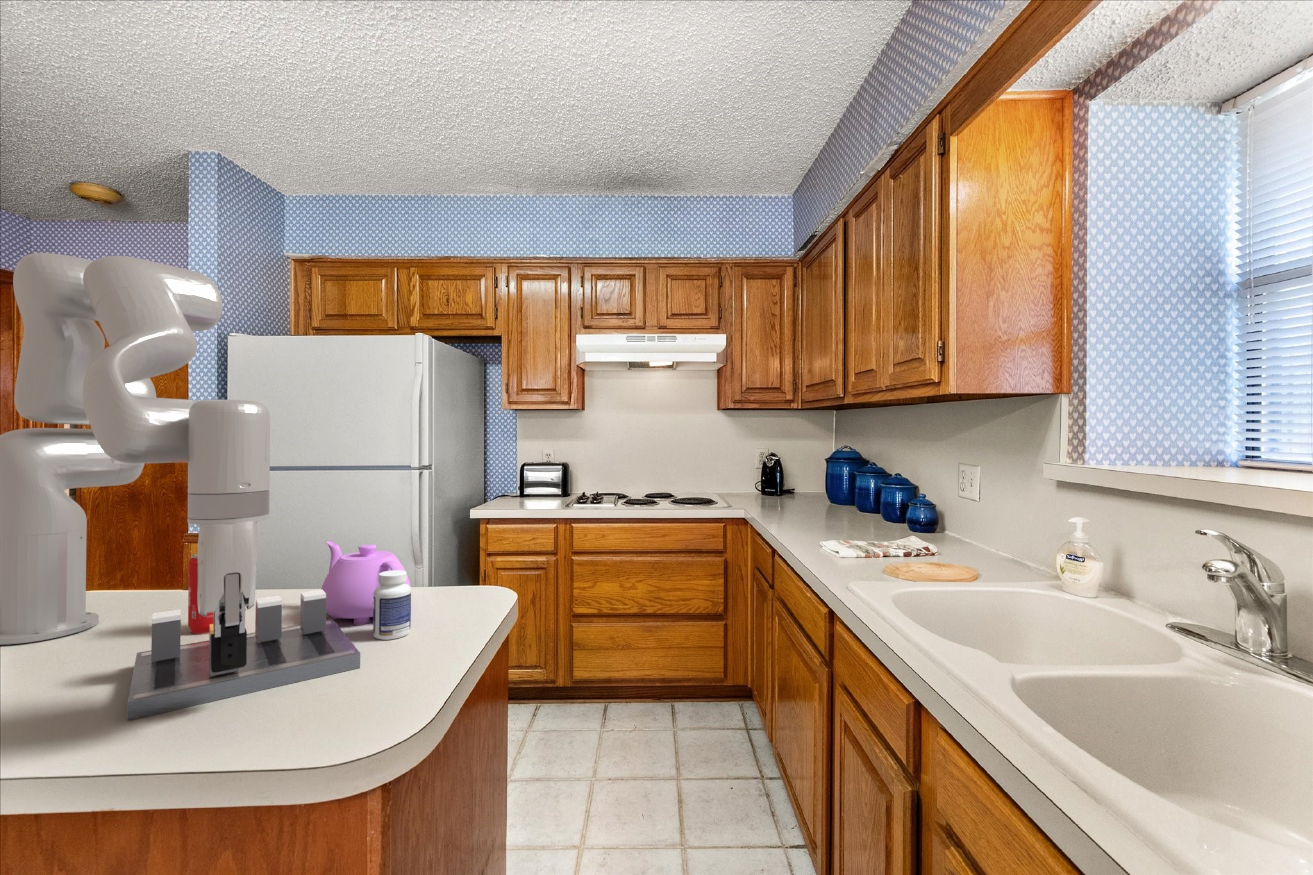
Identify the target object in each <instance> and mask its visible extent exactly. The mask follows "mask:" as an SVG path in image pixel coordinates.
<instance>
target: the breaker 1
mask: <svg viewBox="0 0 1313 875" xmlns="http://www.w3.org/2000/svg"><path fill="white" fill-rule="evenodd" d="M181 611H182V610H181V609H174V610H167V611H159V612H154V613H152V615H151V646H150V648H151V649H150V650H151V662H154V661H160V660H165V659H171V658H176V657H180V645H181V635H182V634H181V632H182V631H181V628H182V627H181V626H182V625H181V624H182V623H181V622H182V621H181V620H182V612H181Z"/></svg>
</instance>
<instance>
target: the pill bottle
mask: <svg viewBox="0 0 1313 875" xmlns="http://www.w3.org/2000/svg"><path fill="white" fill-rule="evenodd" d="M407 575H408V573H407V571H406V570H405V571H403V570H392V571H385V572H381V573H379V579H378V582H379V584H380V586H379V587H377V588H376V589H375V590H374V595H373V617H372V618H373V619H372V631H373V632H372V637H374V638H375V639H377V640H383V641H384V640H385V641H388V640H389V641H390V640H395V639H399V638H402V637H405V636H407V635H409V634H410V632H411V628H412V627H411V625H412V624H411V623H412V622H411V621H412V618H411V616H412V587H411V588H410V586H411V585H410V586H409V585H407V584H405V582H406V579H407Z"/></svg>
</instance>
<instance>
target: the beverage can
mask: <svg viewBox="0 0 1313 875" xmlns="http://www.w3.org/2000/svg"><path fill="white" fill-rule="evenodd" d="M197 587H198V553H195V554H192V555H191V556H190V560H189V561H188V599H187V600H188V601H187V602H188V604H187V609H188V610H187V613H188V614H187V626H188V628H189V630H190V632H191V634H195V635H206V634H209V628H210V624H213V612H208V613H207V616H202V615H200V614H199V611H198V603H197Z"/></svg>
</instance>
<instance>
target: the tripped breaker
mask: <svg viewBox="0 0 1313 875" xmlns="http://www.w3.org/2000/svg"><path fill="white" fill-rule="evenodd" d="M208 634H209V637H208V638H209V639H208V640H209V673H210V676H214V675H219V674H224V673H229V672H234V671H239V668H236V669H231V670H226V671H221V672H217V673H213V672H212V670H211V634H214V631H213V624H210V628H209V633H208Z"/></svg>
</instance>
